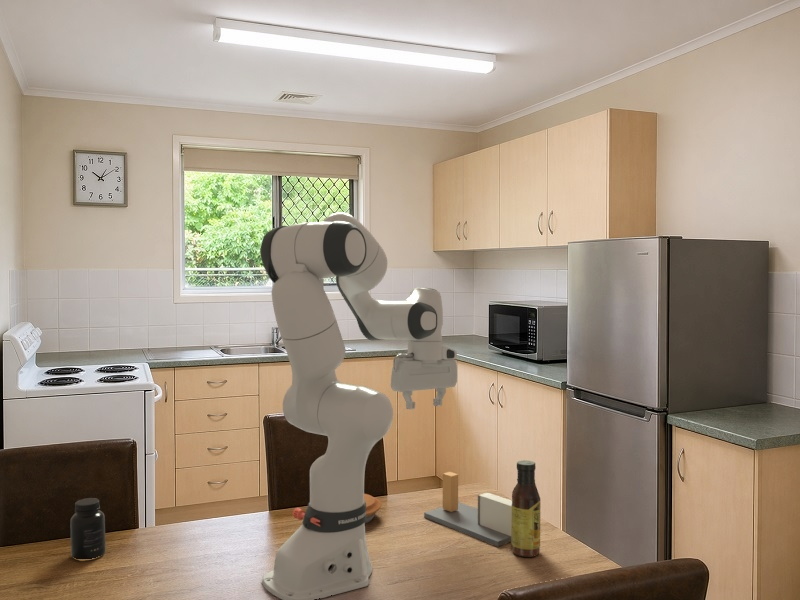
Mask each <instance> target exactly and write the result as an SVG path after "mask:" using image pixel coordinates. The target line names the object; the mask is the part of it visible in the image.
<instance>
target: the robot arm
mask: <svg viewBox="0 0 800 600" xmlns="http://www.w3.org/2000/svg"><path fill="white" fill-rule="evenodd" d="M259 255H260V259H261V263H262V265H263V267H264V270H265V272H266V273H267V275H268V277H269V279H270V281H272V283H273V285H272V289H271V300H272V305H273V306H272V307H273V311H274V312H273V313H274V317H275V322H276V325H277V328H278V331H279V334H280V337H281V340H282V342H283V346H284V348H285V351H286V355H287V357H288V362H289V364H290V368H291V369H290V370H291V374H292V375H291V376H292V377H291V379H292V380H291V381H292V382H291V385H290V386H289V387H288V389H287V390H286V392H285V394H284V396H283V401H282V412H283V415H284V418H285V420H286V421H287V422H288V423H289V424H290V425H293V426H294V427H296V428H298V429H300V430H302V431H304V432H306V433H312V434H316V435H322V436H327V439H328V443H327V448H326V451H325V453H324V454H322V455H321V456H319V457H318V458H316V459H315V461H314V462H313V463H312V464H311V465H310V469H309V502H308V503H307V508H306V510H304V509H301V508H300V507H296V508H294V509H293V511H292V517H293V518H295V519H297V520H300V521H302V524H301V525H300V526H299V527H298V528H297V529H296V530H295V532H293V534H292V535H291V536H290V537H289V538H288V539H287V540H286V541H285V542H283V544H282V545H281V546H280V547H279V548H278V549H277V551H276V554H275V557H274V565H273V569H272V570H270V571H268V572H266V573H264V574H263V575H262V581H261V582H262V585H263V587H264V588H265V590H267V592H268V593H270V594H271V595H273V596H275V597H276V598H278V599H280V600H314V599H317V600H319V598H320V599H323V598H327V597H331V595H332V596H334V595H339V594H342V593H346V592H350V591H353V590H358V589H360V588H361V589H362V588H365V587H367V586H369V585H370V579H369V578H370V575H372V573H373V566H372V563H371V560H370V559H371V558H370V554H369V551H368V545H367V538H366V526H365V525H366V524H365V521H366V502H365V501H364V494H365V474H366V473H365V471H366V464H367V461H368V458H369V455H370V453H371V451H372V449H373V447H374V446H375V445H376V444H377V443H378V442H379V441H380V440H382V439H383V438H384V437H385V436H386V435H387V434H388V432H389V430H390V429H391V427H392V423H393V419H394V410H393V409H394V408H393V406H392V402H391V400H390V398H389V396H387V395H386V394H384V393H382V392H380V391H378V390H376V389H374V388H370V387H368V386H367V385H365V386H363V385H356V384H350V383H344V382H340V380H339V379H338V378H337V375H336V370H337V369H338V368H339V366H341V365H342V363H343V361H344V359H345V357H346V346H345V343H344V340H343V338H342V337H343V335H342V333H341V330H340V327H339V324H338V321H337V318H336V314H335V312H334V310H333V307H332V304H331V302H330V299H329V297H328V294H327V293H326V290H325V289H324V284H325V283H324V280H325V279H328V278H335V282H336V287H337V289H338V291H339V293H340V294H341V297H342V298H343V300H344V301H345V303H346V304H347V306H348V308H349V309H350V310H351V313H352V314H353V316H354V318H355V319H356V322H357V325H358V328H359V331H360V332H361V334H362V335H363V336H364V338H365V339H367V340H369V341H373V342H374V341H384V340H387V341H389V340H390V341H407V353H406V352H405V353H398V354H397V355H396V356H395V357H394V358H393V360H392V362H393V363H392V365H393V366H392V368H391V375H390V376H391V377H390V389H391V390H392V391H393V392H398V393H402V397H403V400H404V401H405V408H406V409H407V410H415V409H416V401H413V398H412V396H413V391H414V392H415V391H426V390H436V391H435V392H437V393H436V396H435V398H432V399H433V404H432V405H433V406H434V407H442V406H443V399H444V396H445V394H446V392H447V390H446V389H447V388H455V387H456V386H457V382H458V365H457V364H458V363H457V362H456V360H457V357H458V353H457V351H456V350H455V349H452V348H449V347H447V346H445V345H444V344H443V335H442V327H443V325H444V312H443V301H442V295H441V293H440V291H438V290H437V289H434V288H430V287H424V286H423V287H415V288H412V289H411V290H410V295H409V296H408V297H407V298H406V299H404V300H383V299H382V300H381V299H376V298H373V297H372V296H371V294H370V292H369V291H371V290H373V289H375V287H377V286H378V285H379V284H380V283H381V282H382V280H383V279H384V277H385V276H386V273H387V270H388V258H387V254H386V252H385V251H384V249H383V247H382V246H381V245H380V243H379V242H378V241H377V238H375V236H374V235H373V234H372V233H371V231H369V230H368V229H367V228H366V227H365V226H364V224H362V223H361V222H360V221H359V220H358V219H357V218H356V217H354V215H352V214H349V213H347V212H342V211H341V212H334V213H332V214H330V215H328V216H327V217H325V218H324V219H323V220H322V221H319V222H313V221H307V222H306V221H305V222H299V223H294V224H290V225H281V226H280V225H279V226H278V227H275V228H273V229H270V230H269V231H267V232H266V233H265V234H264V236H263V237H262V242H261V245H260V254H259Z"/></svg>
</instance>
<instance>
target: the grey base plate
mask: <svg viewBox="0 0 800 600" xmlns="http://www.w3.org/2000/svg"><path fill="white" fill-rule="evenodd" d="M423 514H424V515H423V518H425V519H427V520H430V521H432V522H434V523H437V524H440V525H442V526H445V527H447V528H450V529H451V530H455V531H458V532H460V533H462V534H465V535H467V536H470V537H473V538H475V539H477V540H479V541H482V542H485V543H487V544H490V545H492V546H494V547H499V548H500V547H502V546H504V545H506V544H508V543H511V522H512V500H511V499H509V498H507V497H506V498H505V497H502V496H499V495H497V494H493V493H490V492H488V491H487V492H483V493H480V494H478V495H477V508H476V507H474V506H471V505H469V504H466V503H463V502H460V501H458V510H456V511H453V512H450V511H447V510H445V509H443V506H440V507H437V508H434V509H431V510H428V511H424V513H423Z"/></svg>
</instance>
